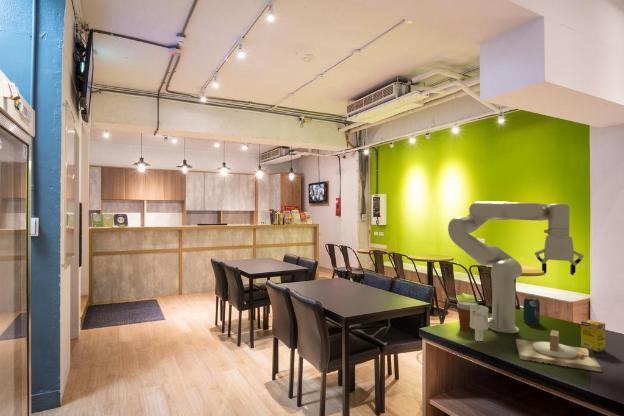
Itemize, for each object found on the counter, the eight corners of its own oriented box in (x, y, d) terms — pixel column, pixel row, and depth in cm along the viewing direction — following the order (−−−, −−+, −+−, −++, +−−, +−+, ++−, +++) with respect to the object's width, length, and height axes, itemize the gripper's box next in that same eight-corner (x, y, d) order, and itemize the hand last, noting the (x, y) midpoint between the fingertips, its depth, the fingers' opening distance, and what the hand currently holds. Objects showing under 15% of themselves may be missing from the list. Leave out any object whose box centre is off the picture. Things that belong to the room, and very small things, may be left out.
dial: (582, 362, 131) (582, 343, 131) (530, 352, 140) (530, 334, 140) (582, 351, 142) (582, 333, 142) (534, 342, 151) (534, 325, 151)
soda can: (539, 325, 181) (539, 300, 181) (522, 322, 185) (523, 298, 185) (539, 322, 187) (540, 297, 187) (523, 319, 191) (524, 295, 191)
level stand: (520, 359, 137) (520, 346, 137) (516, 342, 155) (516, 331, 155) (601, 371, 127) (601, 358, 127) (586, 352, 145) (586, 340, 145)
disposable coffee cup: (453, 326, 177) (453, 300, 178) (473, 326, 177) (474, 301, 177) (460, 332, 168) (461, 305, 168) (482, 333, 168) (482, 305, 168)
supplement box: (597, 353, 145) (597, 324, 145) (580, 348, 150) (580, 320, 150) (605, 351, 147) (605, 323, 147) (588, 346, 153) (588, 319, 153)
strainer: (474, 343, 153) (474, 306, 153) (466, 337, 160) (467, 302, 160) (491, 343, 153) (491, 306, 154) (483, 338, 160) (483, 302, 161)
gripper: (535, 232, 159) (535, 273, 158) (585, 234, 151) (585, 276, 151) (533, 231, 166) (533, 271, 165) (581, 233, 158) (581, 274, 158)
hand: (558, 273), depth 158 cm, fingers open, 9 cm apart
